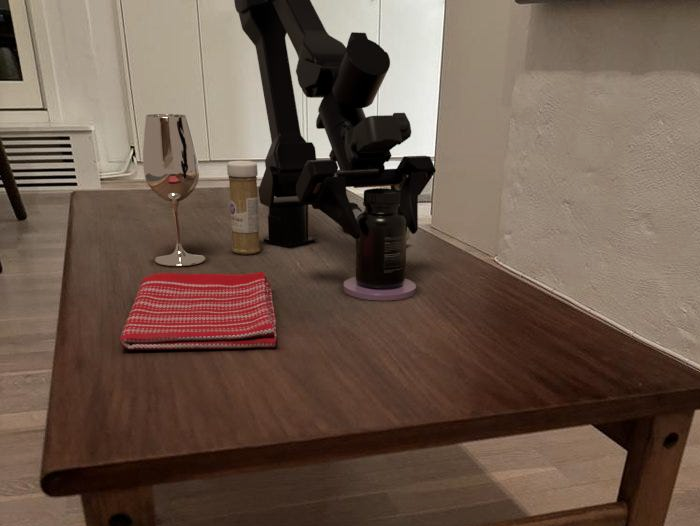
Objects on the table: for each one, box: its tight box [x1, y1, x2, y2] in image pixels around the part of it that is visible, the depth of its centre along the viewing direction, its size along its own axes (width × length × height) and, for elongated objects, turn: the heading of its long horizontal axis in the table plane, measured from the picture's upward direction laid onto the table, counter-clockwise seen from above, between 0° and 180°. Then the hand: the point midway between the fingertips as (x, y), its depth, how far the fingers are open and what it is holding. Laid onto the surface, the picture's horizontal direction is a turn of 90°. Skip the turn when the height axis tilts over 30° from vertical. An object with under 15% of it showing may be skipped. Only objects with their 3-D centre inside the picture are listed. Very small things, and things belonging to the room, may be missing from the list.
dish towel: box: [119, 271, 278, 351], centre depth 89 cm, size 17×24×3 cm
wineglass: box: [142, 113, 206, 268], centre depth 108 cm, size 8×8×20 cm
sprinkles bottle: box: [226, 160, 261, 256], centre depth 115 cm, size 5×5×14 cm
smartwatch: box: [341, 202, 363, 233], centre depth 133 cm, size 4×5×5 cm
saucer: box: [342, 276, 417, 302], centre depth 101 cm, size 10×10×1 cm
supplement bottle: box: [355, 187, 408, 289], centre depth 98 cm, size 7×7×12 cm
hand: (387, 234), depth 97 cm, fingers open, 8 cm apart
